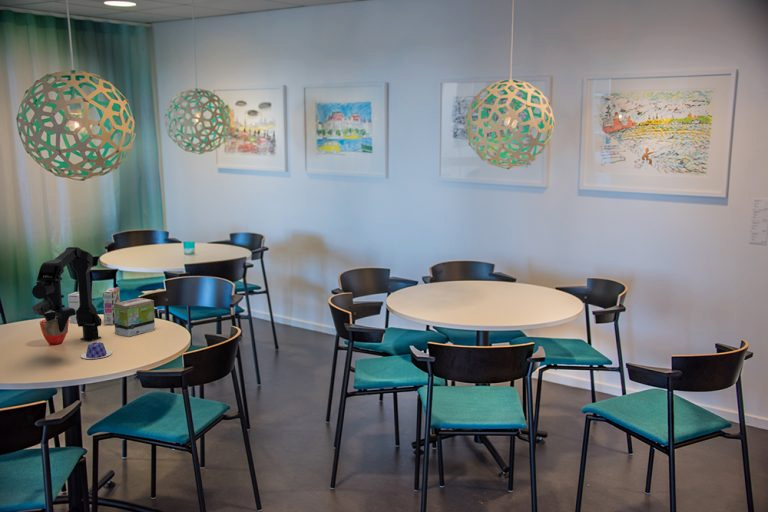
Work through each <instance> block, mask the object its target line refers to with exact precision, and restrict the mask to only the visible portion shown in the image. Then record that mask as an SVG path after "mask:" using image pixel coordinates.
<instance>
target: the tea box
mask: <svg viewBox="0 0 768 512" xmlns="http://www.w3.org/2000/svg"><path fill="white" fill-rule="evenodd" d="M114 317H115V325H114V333H115V334H116V335H117V336H118V335H119V336H122V337H127V338H129V337H133V336H136V335H139V334H143V333H148V332H151V331H152V332H153V331H155V330H156V329H155V328H156V327H155V300H153V299H150V298H149V299H148V298H143V297H138V298H133V299H128V300H125V301H120V302H118V303H114Z"/></svg>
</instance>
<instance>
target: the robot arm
mask: <svg viewBox="0 0 768 512" xmlns="http://www.w3.org/2000/svg"><path fill="white" fill-rule="evenodd" d="M70 263H71V267H72V269H73V270H74V271H75V273H76V276H77V277H76V278H77V284H78V288H77V289H78V292H79V299H80V306H79V308H78V310H76V311H75V309H73V308H69V306H67V307H66V305H65V304H63V300H62V299H63V298H65V295H64V294H62V285H61V284H62V283H61V282H62V281H63V277H62V275H63V273H64V272H65V267H67V265H69V264H70ZM93 263H94V257H93V255H92V254H91V253H90V252H89V251H86V250H84V249H82V248H80V247H77V246H69V247H66V249H65V250H64V251H63V252H61V254H59V255H58V256H57V257H55V258H54V259H51V260H50V259H49V260H47V261H44V262H42V264H41V266H40V268H39V271H38V275H37V278H36V284H35V285H34V286H33V287H32V289H31V293H32V296H33V297H35V299H38V300H42V301H39V302H38V303H36V304H34V305H33V306H31V310H32V311H33V313H34V314H35V315H38V316H42V317H44V320H45V322H46V321H50V320H54V319H57V320H58V325H59V330H60V332H63V330H64V328H65V325H66V323H67V324H68V322H69V320H70V316H73V315H76V320H77V323H76V324H77V326H78V327H79V328H80V327H82V337H81V338H80V339H79V340H81V341H84V342H85V341H86V342H91V341H96V340H100V339H101V338H102V336H100V335H99V329H98V328H99V327H101V326H102V318H101V317H100V316H99V314H98V311H97V308H96V307H95V305H94V304H93V300H92V291H91V290H92V289H91V277H90V271H91V269H92V267H93Z"/></svg>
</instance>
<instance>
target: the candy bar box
mask: <svg viewBox="0 0 768 512" xmlns="http://www.w3.org/2000/svg"><path fill="white" fill-rule="evenodd" d="M120 296H121V293H120V287H109V288H107V289H106V290H104V291H103V292H102V302H103V303H102V304H103V305H102V306H103V319H104V321H103V322H104V323H103V324H104V326H115V317H114V303H118V302H121V297H120Z"/></svg>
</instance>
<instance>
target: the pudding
mask: <svg viewBox="0 0 768 512" xmlns="http://www.w3.org/2000/svg"><path fill="white" fill-rule="evenodd" d="M112 352H113V351H111V350H108V349H106V348H105V344H104V343H103V342H101V341H95V342H90V343H88V345H87V349H86V352H83V353H82V354H81V355H80V358H82V359H86V360H96V359H103V358H106V357H108V356H111V355H112Z"/></svg>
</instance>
